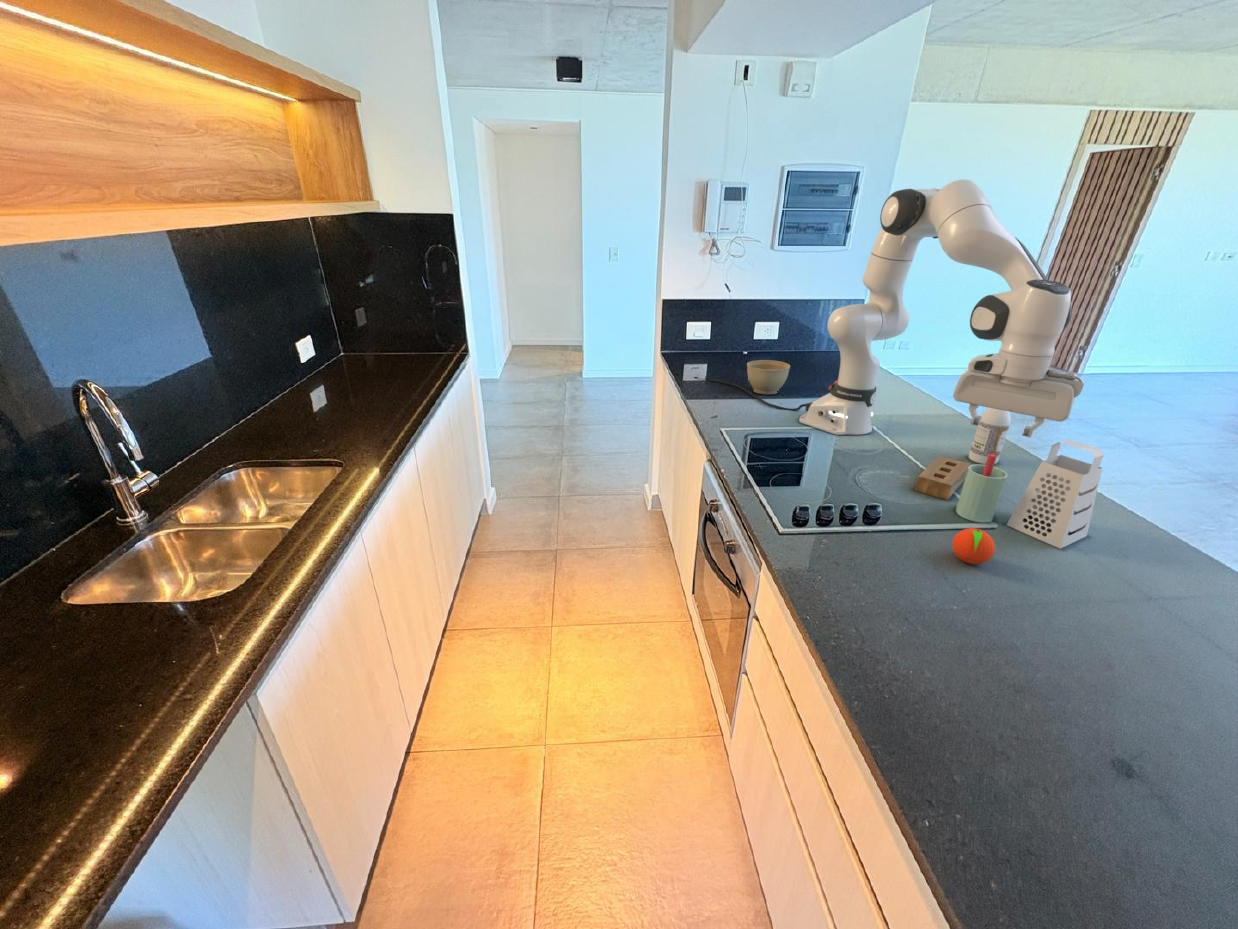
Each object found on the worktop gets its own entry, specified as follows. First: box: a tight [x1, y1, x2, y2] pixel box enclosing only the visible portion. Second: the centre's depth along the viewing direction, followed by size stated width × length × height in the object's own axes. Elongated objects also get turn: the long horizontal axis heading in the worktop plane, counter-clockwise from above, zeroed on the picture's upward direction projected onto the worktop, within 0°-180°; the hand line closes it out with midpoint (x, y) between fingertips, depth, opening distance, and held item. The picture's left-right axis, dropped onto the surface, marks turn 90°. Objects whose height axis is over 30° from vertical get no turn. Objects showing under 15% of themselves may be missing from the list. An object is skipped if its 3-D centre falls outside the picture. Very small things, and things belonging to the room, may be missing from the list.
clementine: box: [951, 527, 996, 565], centre depth 102 cm, size 8×7×7 cm
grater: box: [1006, 438, 1105, 549], centre depth 110 cm, size 10×10×20 cm
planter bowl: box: [746, 359, 791, 395], centre depth 206 cm, size 16×16×11 cm
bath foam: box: [968, 407, 1012, 465], centre depth 144 cm, size 7×7×20 cm
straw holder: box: [914, 455, 972, 501], centre depth 134 cm, size 7×17×4 cm, turn 136°
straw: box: [982, 454, 997, 477], centre depth 117 cm, size 2×2×14 cm
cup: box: [955, 463, 1009, 524], centre depth 118 cm, size 7×7×11 cm
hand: (1000, 430), depth 112 cm, fingers open, 8 cm apart
